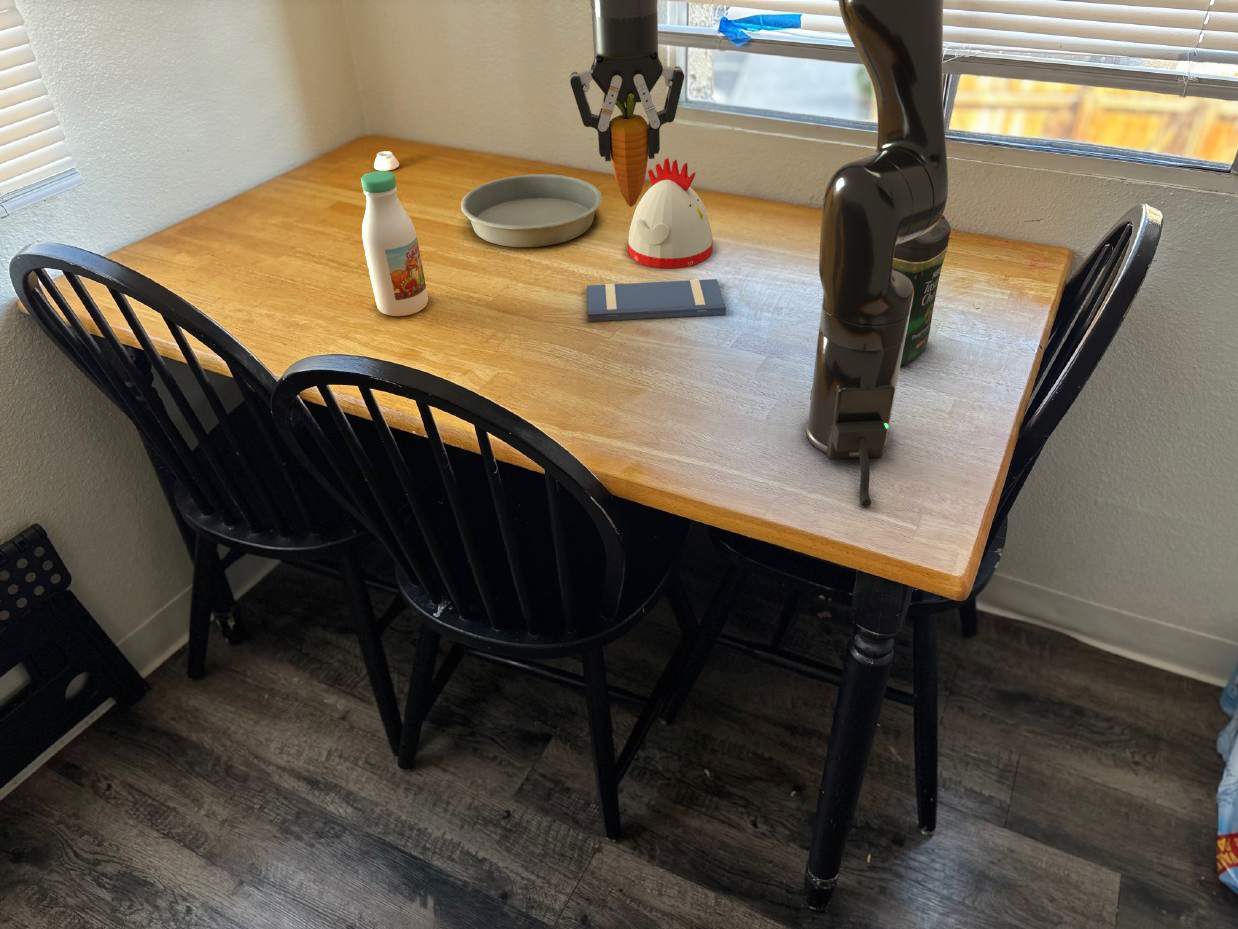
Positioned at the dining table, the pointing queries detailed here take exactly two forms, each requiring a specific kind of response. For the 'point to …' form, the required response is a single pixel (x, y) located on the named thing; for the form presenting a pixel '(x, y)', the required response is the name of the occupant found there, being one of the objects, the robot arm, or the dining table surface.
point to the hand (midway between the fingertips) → (629, 157)
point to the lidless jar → (385, 161)
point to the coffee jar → (922, 282)
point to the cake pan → (532, 209)
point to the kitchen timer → (670, 222)
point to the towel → (654, 300)
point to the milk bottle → (391, 248)
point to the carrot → (629, 150)
